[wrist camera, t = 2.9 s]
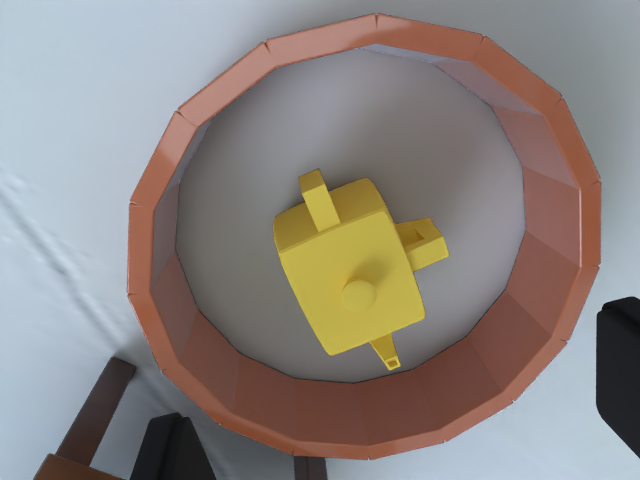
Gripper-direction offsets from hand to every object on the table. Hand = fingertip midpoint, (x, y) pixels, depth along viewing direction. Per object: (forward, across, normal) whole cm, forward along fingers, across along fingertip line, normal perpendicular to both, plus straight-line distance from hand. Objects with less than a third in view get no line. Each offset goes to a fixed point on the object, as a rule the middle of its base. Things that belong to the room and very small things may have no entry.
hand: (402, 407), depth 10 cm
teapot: (+10, -1, 0) cm, 10 cm away
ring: (+10, -1, 0) cm, 10 cm away
